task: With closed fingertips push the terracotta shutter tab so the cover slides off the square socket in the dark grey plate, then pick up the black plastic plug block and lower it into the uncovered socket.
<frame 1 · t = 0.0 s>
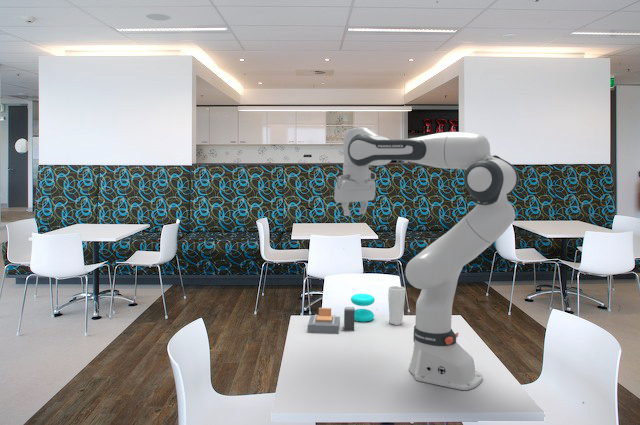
hand: (354, 214, 173), 48 cm above the table, fingers open, 8 cm apart
donuts: (362, 319, 212), on the table
socket plate: (324, 328, 200), on the table
plug: (349, 329, 199), on the table
drinking glass: (395, 323, 207), on the table
shutter: (324, 314, 201), point 5 cm above the table, slide at 0.0 cm
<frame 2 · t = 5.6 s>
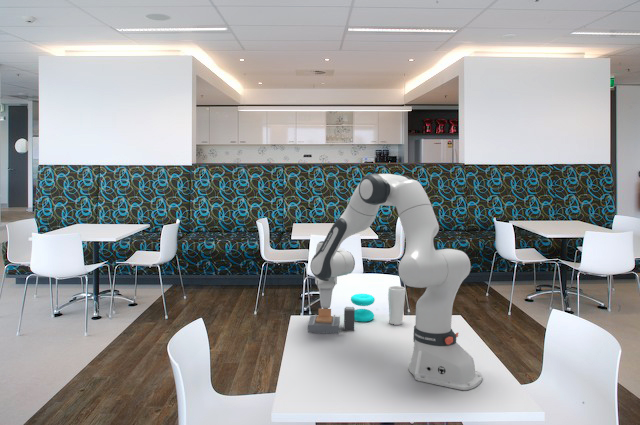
hand: (325, 312, 205), 5 cm above the table, fingers closed
shutter: (324, 315, 200), point 5 cm above the table, slide at 1.0 cm, touching gripper
everything else where it was.
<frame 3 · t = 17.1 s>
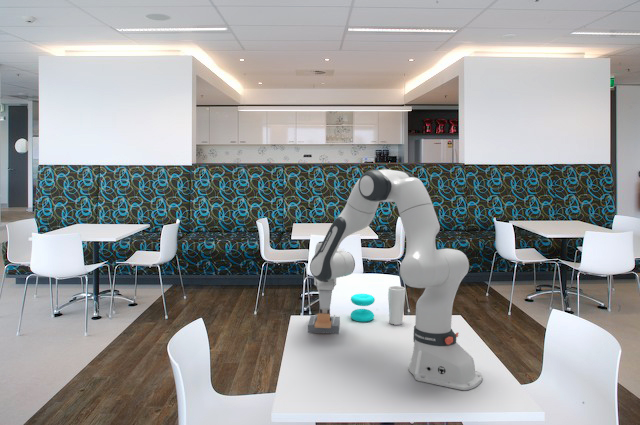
hand: (324, 314, 201), 5 cm above the table, fingers open, 6 cm apart
plug: (324, 327, 201), resting in socket plate
shutter: (323, 320, 193), point 5 cm above the table, slide at 7.6 cm, touching gripper
everything else where it was.
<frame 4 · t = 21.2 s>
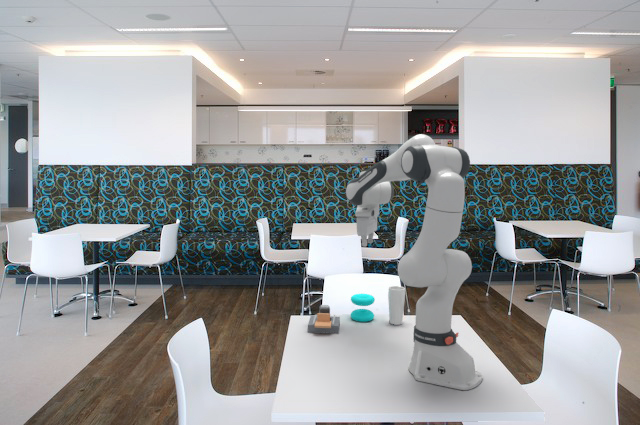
hand: (367, 244, 202), 33 cm above the table, fingers open, 8 cm apart
shutter: (323, 320, 193), point 5 cm above the table, slide at 7.5 cm
everything else where it was.
at the end: shutter slide at 7.5 cm; plug 0.1 cm from the target spot on the socket plate, point 0.0 cm above the socket plate's base; plug tilted 0° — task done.
